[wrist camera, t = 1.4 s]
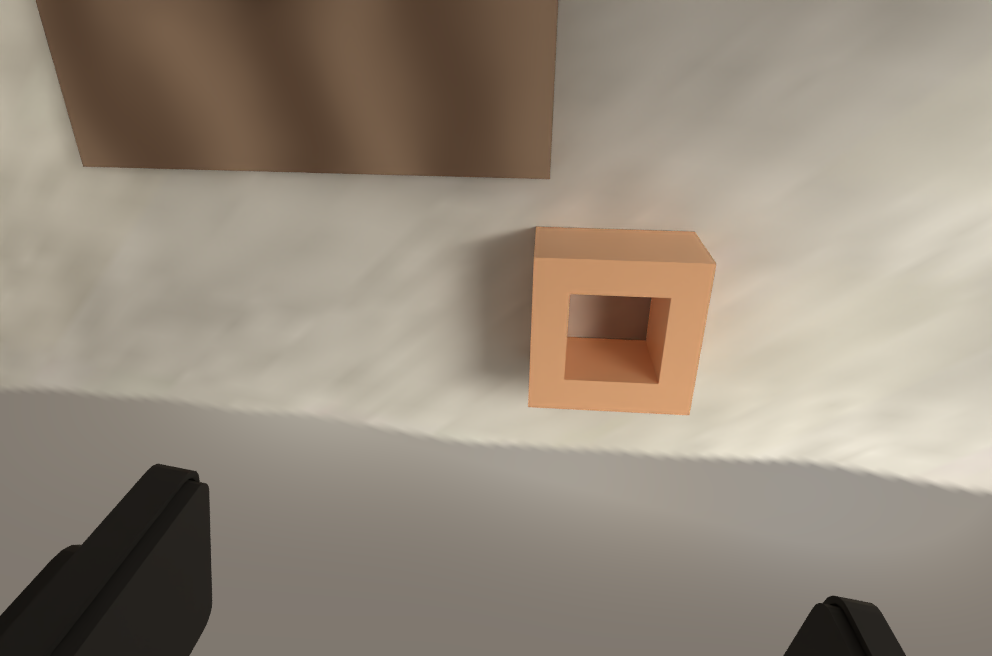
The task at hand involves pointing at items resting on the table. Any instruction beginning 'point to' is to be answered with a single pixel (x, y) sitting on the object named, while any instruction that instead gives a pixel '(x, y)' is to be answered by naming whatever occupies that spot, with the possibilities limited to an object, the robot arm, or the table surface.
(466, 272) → the table surface
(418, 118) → the post stand
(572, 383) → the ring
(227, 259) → the table surface
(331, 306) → the table surface
